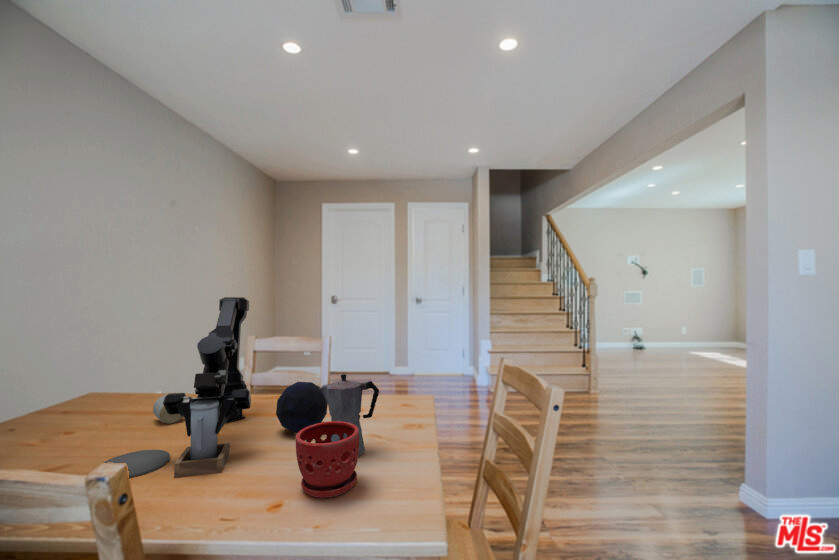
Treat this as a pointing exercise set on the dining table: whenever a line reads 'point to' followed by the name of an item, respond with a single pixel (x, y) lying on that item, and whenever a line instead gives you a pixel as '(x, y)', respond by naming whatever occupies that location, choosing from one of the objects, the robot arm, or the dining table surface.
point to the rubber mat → (142, 461)
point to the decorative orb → (301, 406)
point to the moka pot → (348, 403)
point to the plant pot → (327, 458)
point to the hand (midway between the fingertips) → (202, 434)
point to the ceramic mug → (164, 412)
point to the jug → (204, 429)
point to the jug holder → (201, 462)
